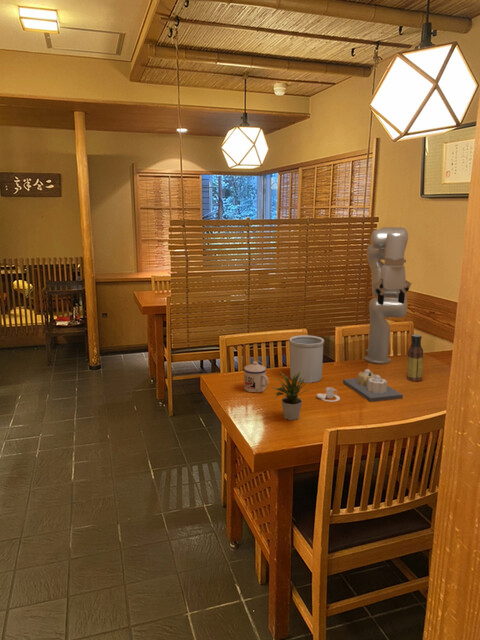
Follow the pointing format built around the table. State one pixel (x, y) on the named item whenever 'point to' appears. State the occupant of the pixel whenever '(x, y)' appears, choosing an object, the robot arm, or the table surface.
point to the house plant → (291, 397)
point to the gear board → (361, 388)
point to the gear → (377, 386)
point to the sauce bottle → (415, 359)
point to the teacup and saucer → (328, 395)
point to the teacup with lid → (255, 377)
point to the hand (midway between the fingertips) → (390, 303)
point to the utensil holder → (306, 357)
